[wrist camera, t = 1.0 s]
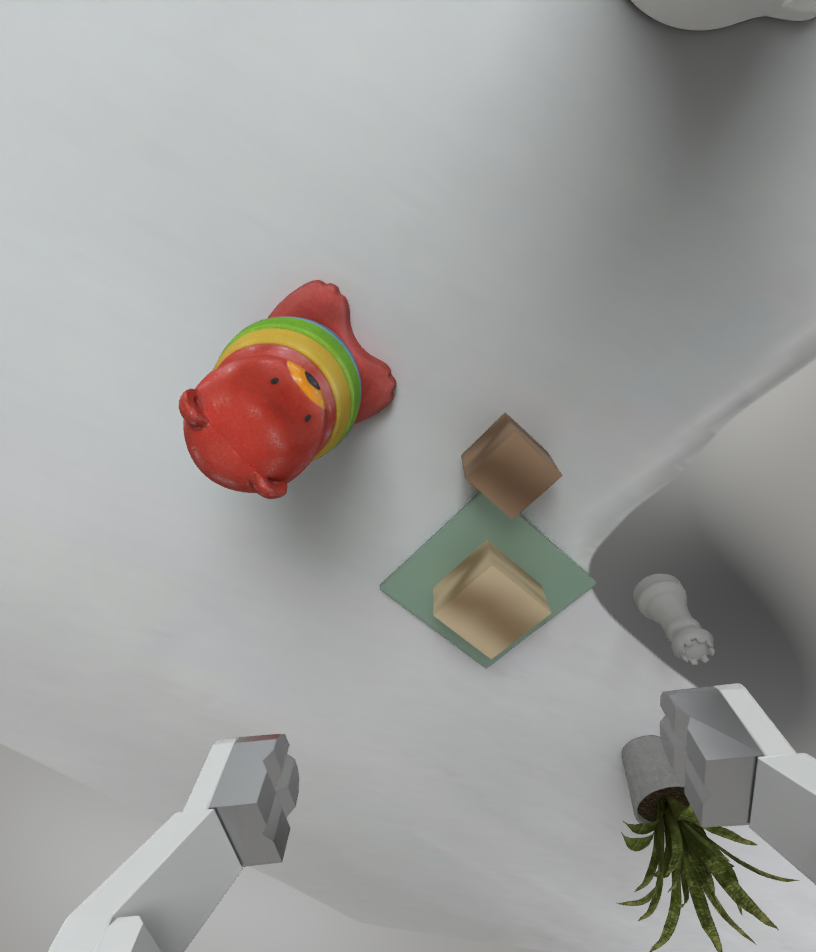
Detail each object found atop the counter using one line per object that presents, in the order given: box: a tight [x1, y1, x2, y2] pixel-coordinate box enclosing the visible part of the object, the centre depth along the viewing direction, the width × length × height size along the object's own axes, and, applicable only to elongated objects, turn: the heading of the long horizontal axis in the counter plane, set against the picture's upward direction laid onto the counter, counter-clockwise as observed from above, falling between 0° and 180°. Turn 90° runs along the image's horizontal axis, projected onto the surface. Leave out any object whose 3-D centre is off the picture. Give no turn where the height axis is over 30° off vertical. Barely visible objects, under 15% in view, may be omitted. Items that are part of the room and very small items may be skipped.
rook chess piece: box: [632, 574, 715, 665], centre depth 42 cm, size 4×4×8 cm
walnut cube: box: [462, 413, 562, 520], centre depth 39 cm, size 5×5×5 cm
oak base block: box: [433, 540, 551, 660], centre depth 44 cm, size 7×7×4 cm
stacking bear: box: [179, 280, 396, 499], centre depth 31 cm, size 11×10×18 cm
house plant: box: [617, 735, 799, 952], centre depth 47 cm, size 14×14×16 cm
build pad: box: [380, 492, 596, 668], centre depth 46 cm, size 14×14×1 cm
